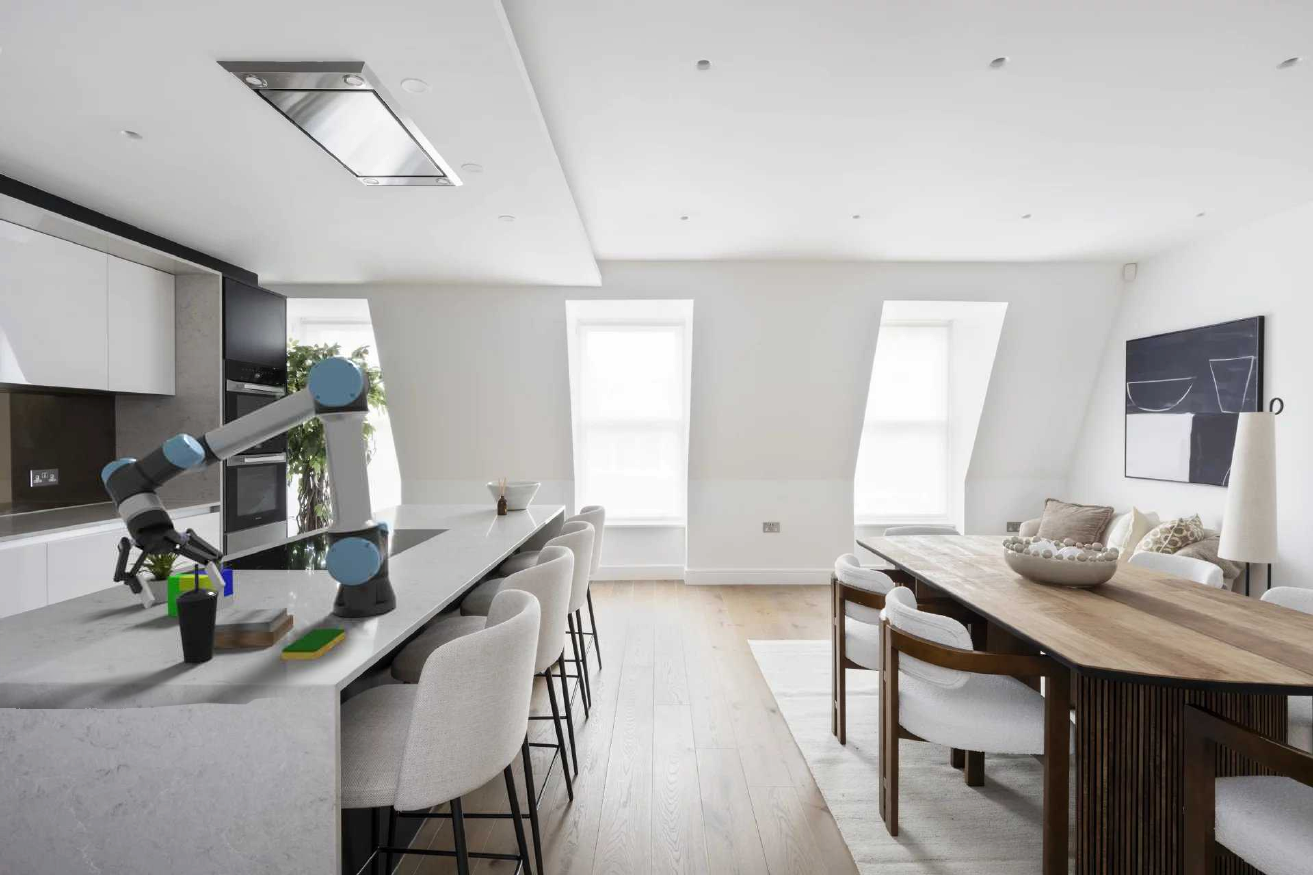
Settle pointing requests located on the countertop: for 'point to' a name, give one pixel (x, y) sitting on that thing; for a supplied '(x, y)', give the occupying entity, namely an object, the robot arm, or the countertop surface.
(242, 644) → the two-layer plinth
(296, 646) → the dish sponge
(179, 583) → the puzzle toy
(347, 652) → the countertop surface
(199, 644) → the drinking cup
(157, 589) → the house plant
